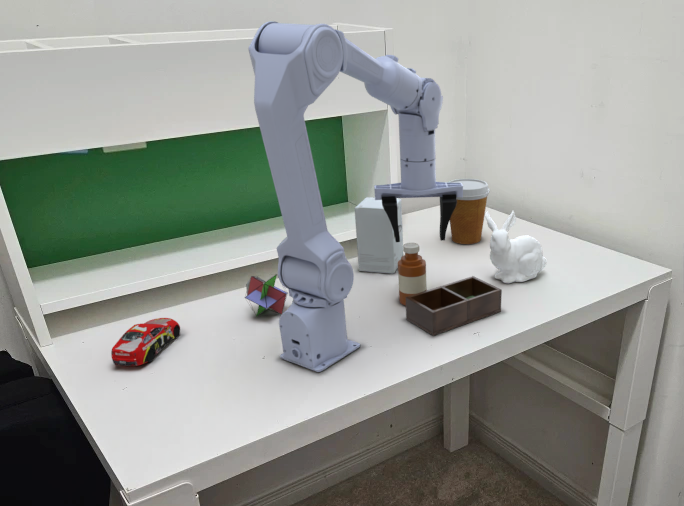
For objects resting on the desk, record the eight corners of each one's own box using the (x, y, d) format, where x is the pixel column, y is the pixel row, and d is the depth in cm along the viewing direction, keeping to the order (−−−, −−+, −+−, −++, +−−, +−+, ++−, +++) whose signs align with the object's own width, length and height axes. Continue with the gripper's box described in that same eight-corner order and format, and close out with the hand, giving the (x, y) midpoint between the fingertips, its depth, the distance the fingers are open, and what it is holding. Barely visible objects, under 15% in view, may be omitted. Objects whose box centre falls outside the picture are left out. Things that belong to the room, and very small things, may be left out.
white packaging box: (394, 274, 126) (391, 209, 119) (357, 271, 127) (352, 207, 121) (404, 260, 132) (402, 198, 126) (369, 257, 133) (365, 195, 127)
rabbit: (497, 288, 120) (499, 224, 114) (474, 270, 128) (476, 209, 121) (554, 277, 125) (559, 215, 118) (529, 261, 132) (533, 201, 126)
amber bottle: (416, 308, 113) (414, 252, 108) (393, 302, 115) (391, 246, 110) (432, 299, 116) (431, 243, 111) (410, 293, 119) (408, 238, 113)
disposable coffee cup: (442, 233, 146) (442, 178, 140) (484, 231, 147) (486, 177, 141) (446, 248, 138) (446, 191, 132) (491, 246, 139) (493, 189, 133)
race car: (156, 328, 107) (150, 305, 105) (187, 330, 106) (182, 308, 104) (106, 368, 96) (99, 344, 94) (141, 371, 95) (134, 347, 93)
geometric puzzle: (305, 296, 112) (275, 258, 110) (285, 313, 106) (252, 272, 104) (279, 315, 116) (249, 278, 114) (258, 332, 110) (226, 293, 108)
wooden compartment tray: (433, 336, 104) (432, 312, 102) (406, 319, 109) (405, 297, 107) (501, 311, 112) (501, 289, 110) (472, 297, 117) (473, 275, 115)
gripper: (459, 151, 110) (459, 230, 117) (372, 153, 109) (377, 233, 116) (465, 161, 104) (464, 243, 111) (372, 163, 103) (377, 247, 110)
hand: (420, 239), depth 113 cm, fingers open, 7 cm apart
